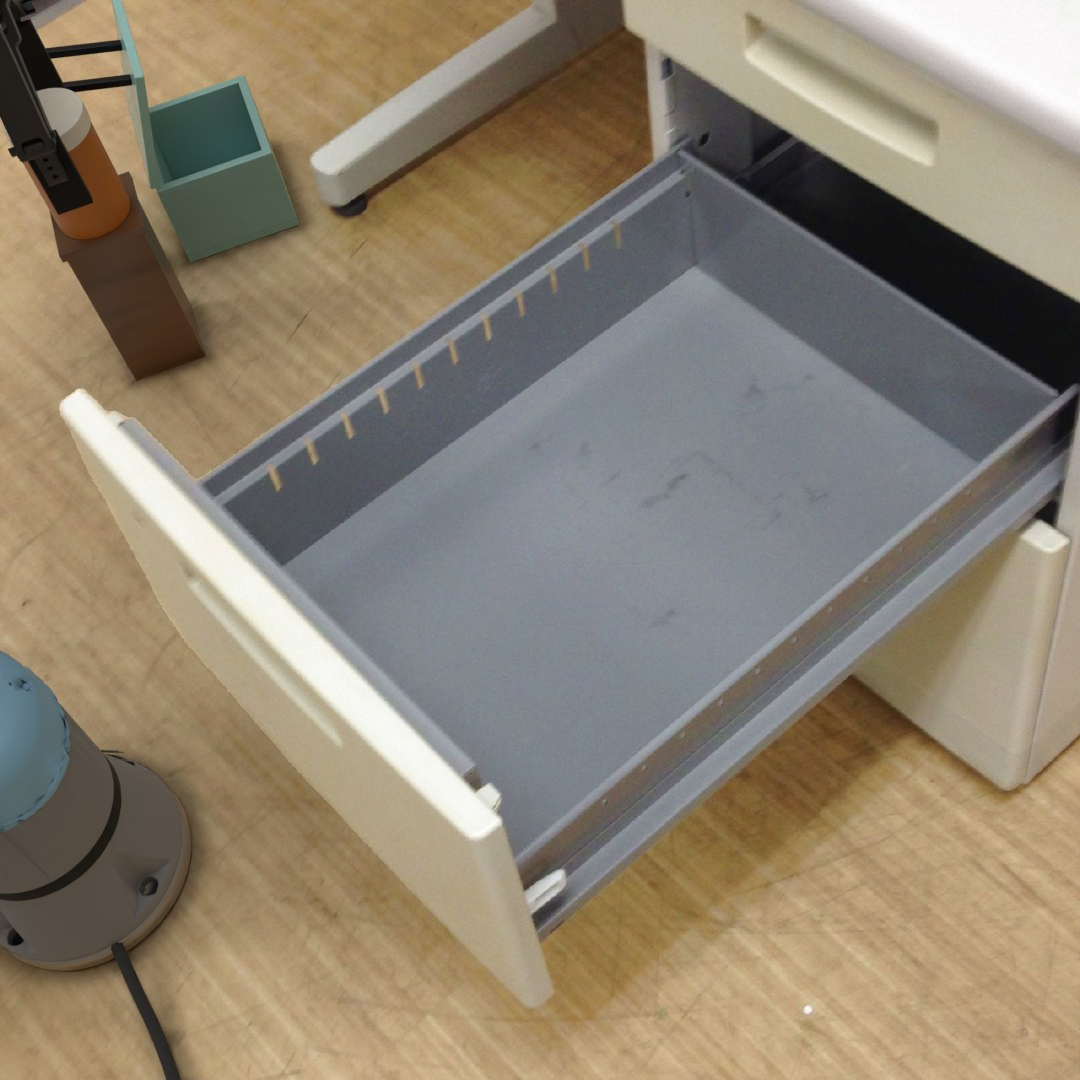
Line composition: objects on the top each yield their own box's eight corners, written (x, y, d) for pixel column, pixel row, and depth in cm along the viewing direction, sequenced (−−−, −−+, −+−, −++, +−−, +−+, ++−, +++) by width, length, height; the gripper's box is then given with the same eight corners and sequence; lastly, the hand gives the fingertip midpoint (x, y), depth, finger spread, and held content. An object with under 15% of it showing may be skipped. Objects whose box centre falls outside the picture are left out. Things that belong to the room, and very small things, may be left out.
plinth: (209, 357, 133) (143, 226, 120) (133, 384, 132) (58, 256, 119) (194, 303, 137) (128, 170, 124) (120, 329, 136) (46, 199, 123)
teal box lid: (120, -4, 130) (10, 8, 127) (144, 76, 123) (28, 90, 121) (137, 107, 139) (34, 120, 136) (159, 188, 132) (52, 203, 130)
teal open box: (272, 147, 147) (244, 74, 140) (299, 224, 140) (272, 152, 133) (167, 183, 146) (134, 112, 139) (190, 262, 140) (157, 192, 132)
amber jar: (138, 224, 120) (88, 127, 112) (63, 251, 119) (7, 154, 111) (125, 175, 123) (76, 77, 115) (52, 200, 123) (-3, 104, 115)
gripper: (8, -9, 92) (136, 239, 109) (-37, -211, 106) (83, 37, 123) (-112, 31, 91) (37, 274, 109) (-141, -177, 105) (-5, 68, 123)
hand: (62, 149), depth 116 cm, fingers open, 13 cm apart
